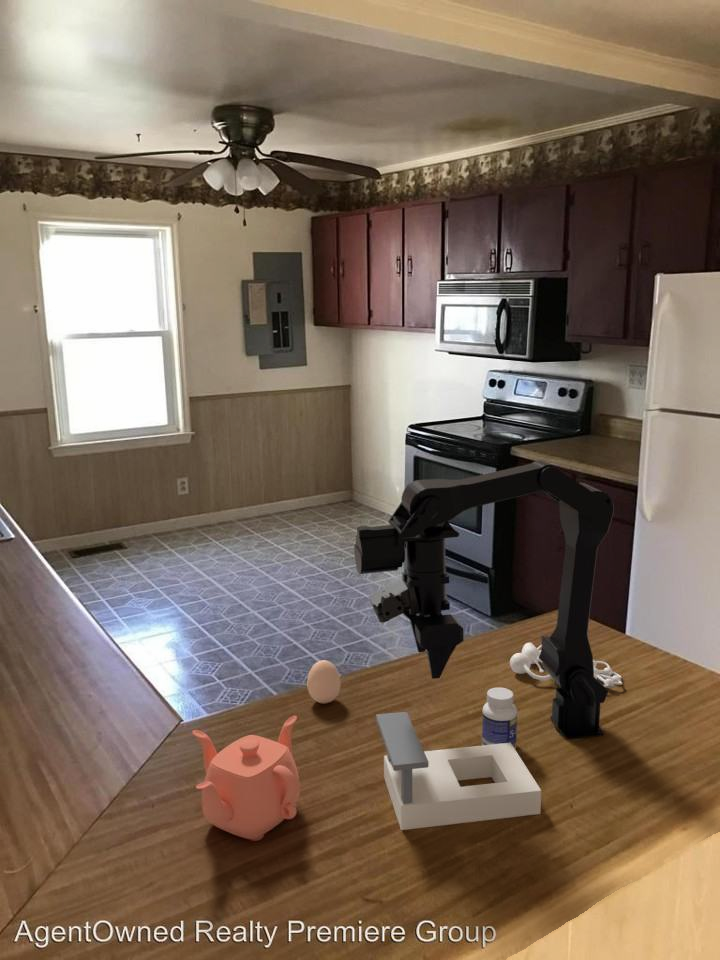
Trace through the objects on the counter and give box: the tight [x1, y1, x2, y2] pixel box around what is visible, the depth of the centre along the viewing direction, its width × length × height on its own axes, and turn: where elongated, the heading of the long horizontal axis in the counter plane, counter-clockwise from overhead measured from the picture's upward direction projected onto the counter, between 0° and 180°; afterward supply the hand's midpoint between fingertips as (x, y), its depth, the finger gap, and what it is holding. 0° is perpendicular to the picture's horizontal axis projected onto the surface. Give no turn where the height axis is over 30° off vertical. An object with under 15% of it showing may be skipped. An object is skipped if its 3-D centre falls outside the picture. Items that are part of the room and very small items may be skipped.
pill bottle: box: [481, 687, 518, 750], centre depth 121 cm, size 5×5×9 cm
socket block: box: [375, 711, 542, 831], centre depth 109 cm, size 20×13×10 cm, turn 99°
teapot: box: [192, 715, 301, 842], centre depth 104 cm, size 14×14×11 cm
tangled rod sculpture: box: [509, 642, 623, 689], centre depth 145 cm, size 19×14×4 cm
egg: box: [306, 659, 342, 704], centre depth 136 cm, size 6×6×8 cm
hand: (428, 664), depth 119 cm, fingers open, 9 cm apart
